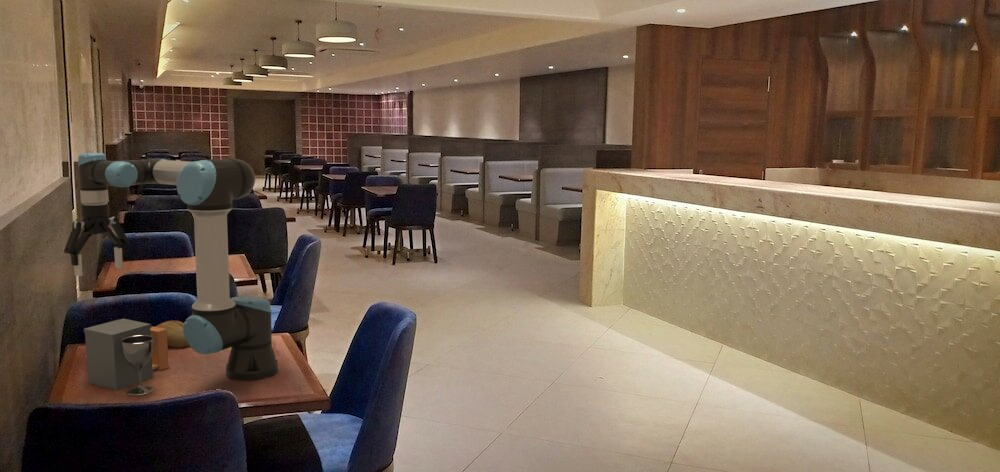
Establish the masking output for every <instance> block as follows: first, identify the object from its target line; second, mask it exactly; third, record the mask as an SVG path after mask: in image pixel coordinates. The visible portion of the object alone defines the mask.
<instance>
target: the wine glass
mask: <svg viewBox="0 0 1000 472" xmlns="http://www.w3.org/2000/svg"><path fill="white" fill-rule="evenodd" d="M122 351H123V355H124V358H125V360H126V361H127V362H128V363H129V364H130V365H131V366H132V367H134V369H135V370H136V372H137V375H138V383H137V384H138V385H137V386H135V387H131V388H130V389H128V390H127V391H126V394H127V395H129V396H143V395H147V394H150V393H152V392H154V391H155V388H154V387H153V386H150V385H142V384H143V383H142V382H143V381H142V382H141V377H142V370H143V368H144V366H145V365H146V364H147V363H148V361H149V360H150V359H151V357H152V353H153V337H152V336H149V335H136V336H130V337H127V338H124V339H122Z"/></svg>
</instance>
